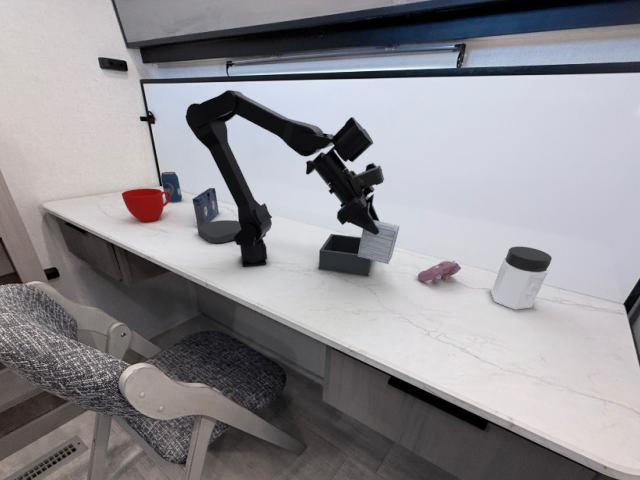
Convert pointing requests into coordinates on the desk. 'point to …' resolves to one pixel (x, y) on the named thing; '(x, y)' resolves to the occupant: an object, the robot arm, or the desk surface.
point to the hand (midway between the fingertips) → (378, 230)
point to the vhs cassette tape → (205, 206)
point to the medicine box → (379, 242)
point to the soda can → (171, 186)
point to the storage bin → (343, 255)
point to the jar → (520, 277)
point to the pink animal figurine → (439, 271)
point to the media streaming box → (219, 230)
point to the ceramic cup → (145, 203)
